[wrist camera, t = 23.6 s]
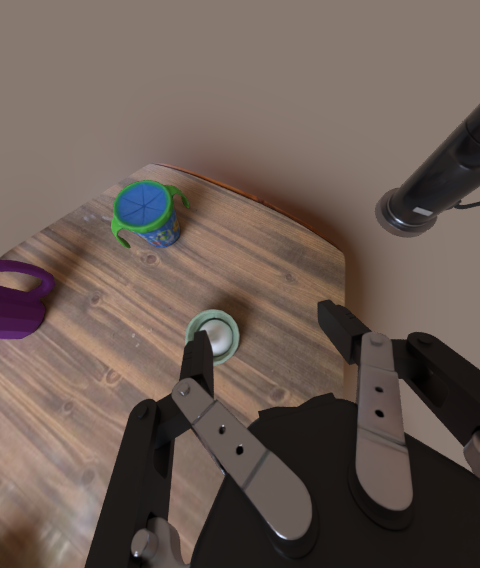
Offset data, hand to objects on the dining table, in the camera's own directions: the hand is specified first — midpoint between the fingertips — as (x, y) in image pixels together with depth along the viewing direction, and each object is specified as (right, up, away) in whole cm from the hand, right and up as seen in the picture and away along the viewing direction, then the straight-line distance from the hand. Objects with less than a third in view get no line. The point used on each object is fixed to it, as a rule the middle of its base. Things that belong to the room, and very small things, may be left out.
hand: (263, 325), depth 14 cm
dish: (-6, -7, +24) cm, 26 cm away
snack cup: (-19, +14, +31) cm, 39 cm away
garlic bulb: (-6, -7, +24) cm, 25 cm away
